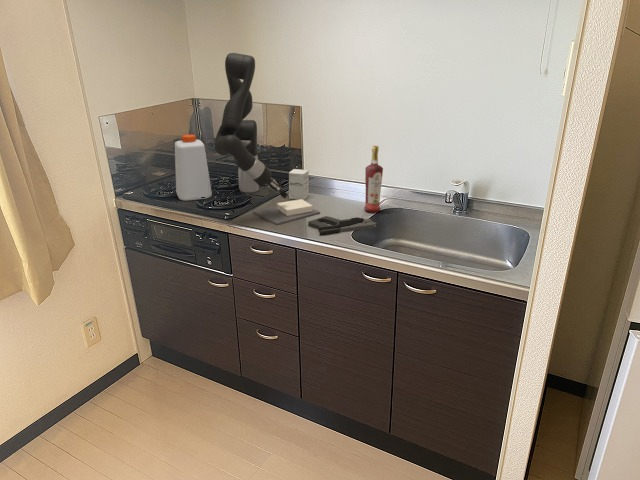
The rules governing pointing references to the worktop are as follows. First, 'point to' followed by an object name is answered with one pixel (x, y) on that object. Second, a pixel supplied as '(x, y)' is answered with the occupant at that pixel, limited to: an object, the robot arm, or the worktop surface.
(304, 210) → the tile
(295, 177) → the supplement box
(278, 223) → the mat
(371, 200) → the liquor
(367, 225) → the pistol
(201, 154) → the plastic bottle
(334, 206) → the worktop surface
